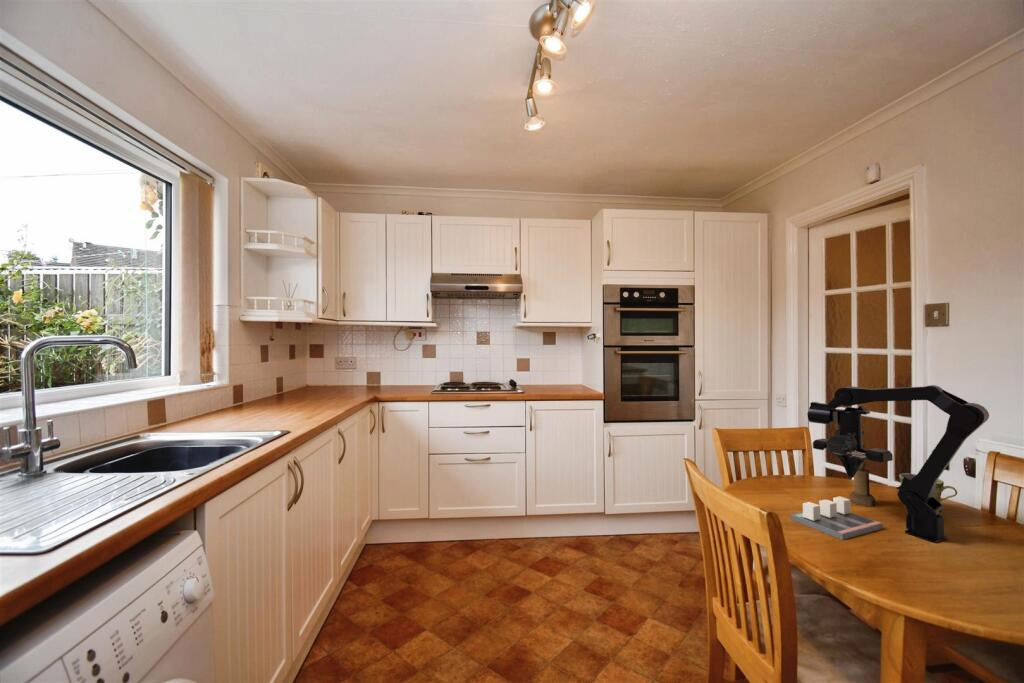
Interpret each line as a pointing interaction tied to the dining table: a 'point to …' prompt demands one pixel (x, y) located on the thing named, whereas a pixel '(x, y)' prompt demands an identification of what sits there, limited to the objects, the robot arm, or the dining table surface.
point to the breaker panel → (840, 524)
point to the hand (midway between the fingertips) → (851, 477)
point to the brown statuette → (862, 488)
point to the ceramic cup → (938, 488)
